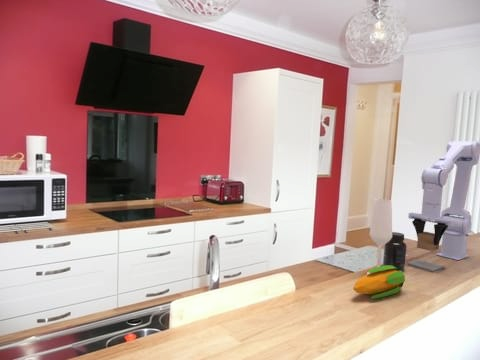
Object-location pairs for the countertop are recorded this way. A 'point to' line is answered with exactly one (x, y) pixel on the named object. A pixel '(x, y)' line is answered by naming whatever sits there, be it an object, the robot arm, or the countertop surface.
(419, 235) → the walnut cube
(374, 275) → the corn
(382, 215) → the champagne flute
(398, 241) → the supplement bottle
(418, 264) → the slate coaster
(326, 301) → the countertop surface
